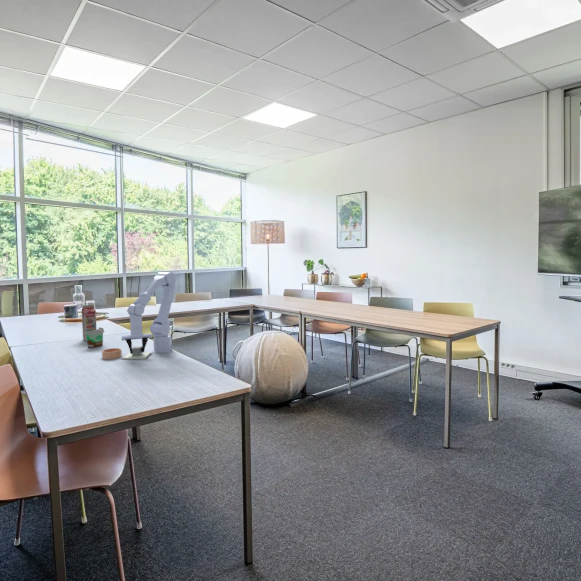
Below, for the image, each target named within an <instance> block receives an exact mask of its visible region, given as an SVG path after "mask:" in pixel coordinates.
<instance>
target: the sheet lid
mask: <svg viewBox="0 0 581 581" xmlns="http://www.w3.org/2000/svg"><path fill="white" fill-rule="evenodd" d="M151 353H152V351H144V353H143V352H142V346H137V345H136V346H132V354H131V353H130V352H129V353H127V354H126V355H125V356H124V357H122V358H123V359H144V360H147V359H146V358H147V357H148V356H149V355H150V354H151Z"/></svg>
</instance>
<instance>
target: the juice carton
mask: <svg viewBox="0 0 581 581" xmlns="http://www.w3.org/2000/svg"><path fill="white" fill-rule="evenodd" d="M81 307H82V308H81V323H82V324H81V326H82V340H83V341H84V342H87V335H86V331H92V330H97V313H96V311H97V310H96V309H95V304H87V305H86V304H85V305H82V306H81Z"/></svg>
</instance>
